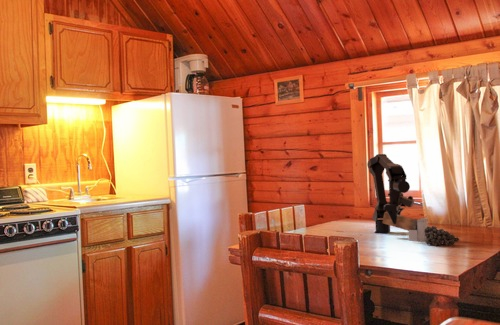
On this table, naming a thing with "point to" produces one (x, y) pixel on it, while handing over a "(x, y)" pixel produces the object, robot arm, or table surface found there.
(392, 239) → the table surface
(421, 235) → the grey block with legs
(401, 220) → the rail
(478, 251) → the table surface
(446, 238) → the fruit
